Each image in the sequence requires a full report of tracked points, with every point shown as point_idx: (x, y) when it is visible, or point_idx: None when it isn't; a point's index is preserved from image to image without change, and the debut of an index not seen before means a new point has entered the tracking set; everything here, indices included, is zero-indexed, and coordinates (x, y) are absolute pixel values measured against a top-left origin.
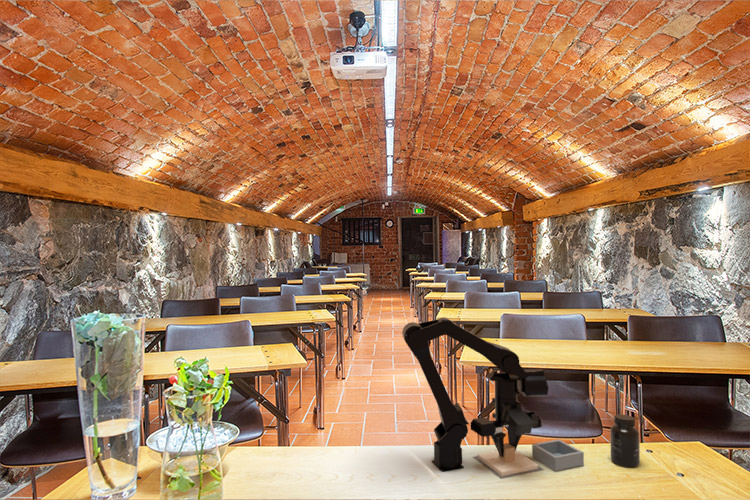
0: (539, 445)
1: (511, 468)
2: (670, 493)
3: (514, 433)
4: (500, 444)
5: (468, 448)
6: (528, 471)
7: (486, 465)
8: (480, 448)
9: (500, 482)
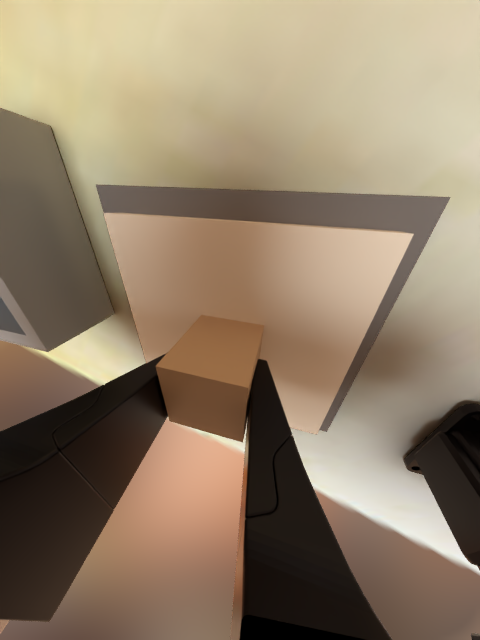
0: (18, 328)
1: (291, 248)
2: None
3: (37, 508)
4: (291, 456)
5: None
6: (188, 205)
7: None
8: None
9: (471, 173)
